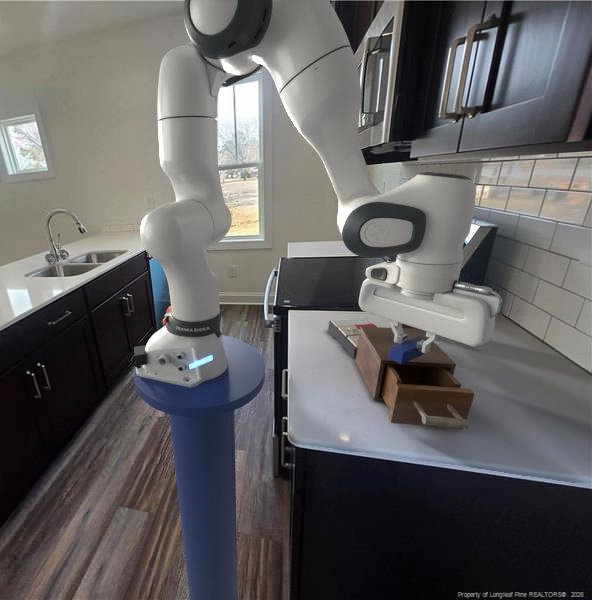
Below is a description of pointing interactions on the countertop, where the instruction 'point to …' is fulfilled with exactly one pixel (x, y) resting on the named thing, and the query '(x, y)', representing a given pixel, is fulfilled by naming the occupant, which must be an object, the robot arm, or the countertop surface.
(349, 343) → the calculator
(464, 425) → the drawer
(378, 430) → the countertop surface
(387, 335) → the cabinet
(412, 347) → the blue and gray block
